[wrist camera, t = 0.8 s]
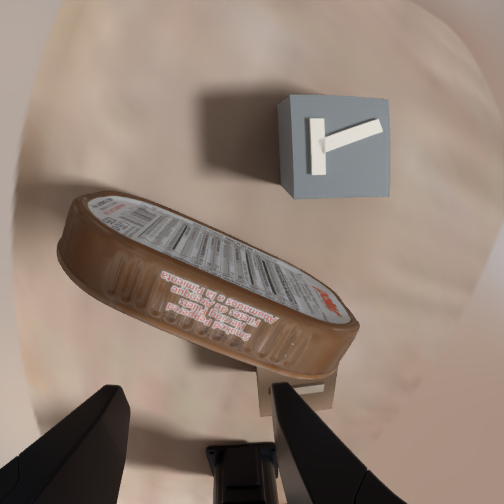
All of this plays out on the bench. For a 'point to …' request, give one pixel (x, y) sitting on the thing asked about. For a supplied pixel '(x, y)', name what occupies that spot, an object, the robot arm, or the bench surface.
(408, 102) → the bench surface
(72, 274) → the tin
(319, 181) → the slate number block
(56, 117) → the bench surface
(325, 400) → the walnut number block
